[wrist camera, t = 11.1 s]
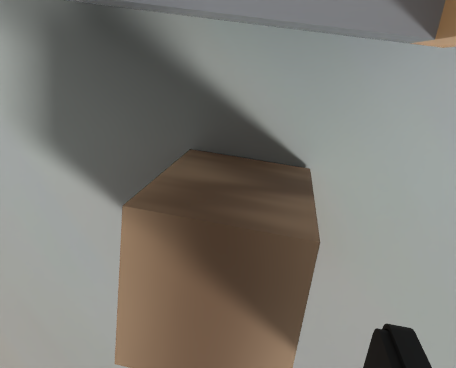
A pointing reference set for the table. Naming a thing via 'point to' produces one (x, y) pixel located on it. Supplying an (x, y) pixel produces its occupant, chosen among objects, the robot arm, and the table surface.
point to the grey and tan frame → (324, 16)
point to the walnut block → (216, 265)
